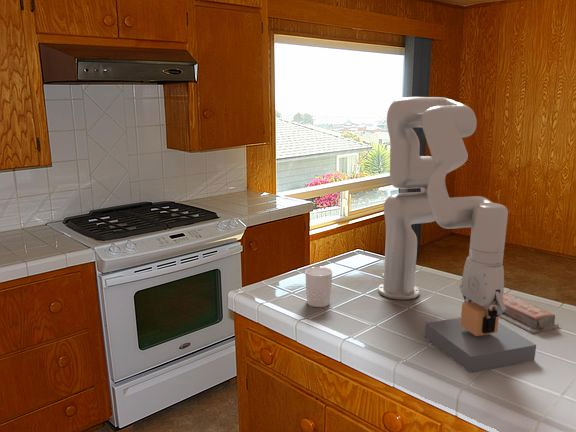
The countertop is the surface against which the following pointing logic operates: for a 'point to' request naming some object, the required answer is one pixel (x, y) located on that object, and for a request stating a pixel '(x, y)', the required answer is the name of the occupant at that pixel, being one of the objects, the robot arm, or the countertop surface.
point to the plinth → (479, 345)
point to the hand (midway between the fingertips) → (479, 325)
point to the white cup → (318, 286)
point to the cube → (474, 318)
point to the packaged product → (527, 315)
